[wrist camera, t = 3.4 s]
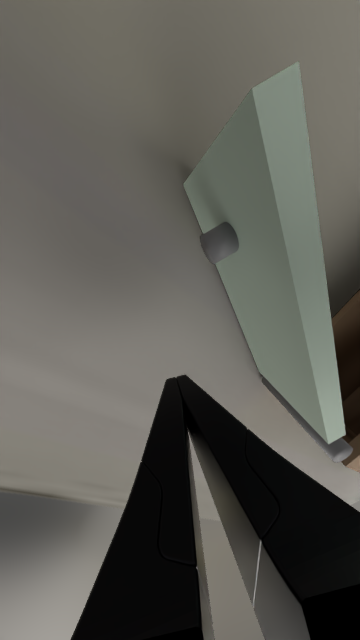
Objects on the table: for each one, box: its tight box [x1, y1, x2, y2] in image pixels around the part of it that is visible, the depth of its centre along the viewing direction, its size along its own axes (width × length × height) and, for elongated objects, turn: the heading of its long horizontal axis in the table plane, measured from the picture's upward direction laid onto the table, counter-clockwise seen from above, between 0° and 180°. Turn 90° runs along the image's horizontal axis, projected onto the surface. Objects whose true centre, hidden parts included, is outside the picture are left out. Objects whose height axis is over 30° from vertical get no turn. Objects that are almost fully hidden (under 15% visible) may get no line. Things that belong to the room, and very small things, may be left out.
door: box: [183, 61, 353, 462], centre depth 9 cm, size 2×15×6 cm, turn 28°
